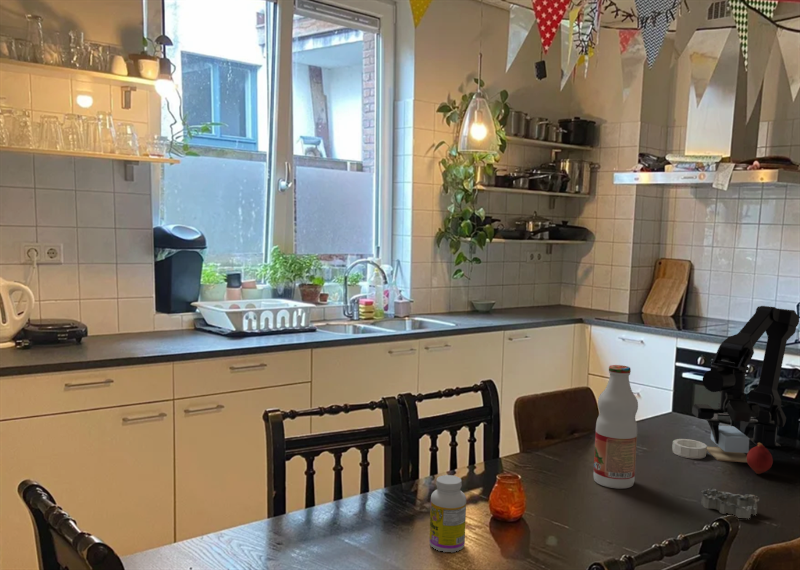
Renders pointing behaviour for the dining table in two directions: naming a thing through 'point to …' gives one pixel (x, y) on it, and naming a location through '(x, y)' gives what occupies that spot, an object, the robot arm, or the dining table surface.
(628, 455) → the fruit juice
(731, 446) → the light blue block
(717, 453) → the mat
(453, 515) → the supplement bottle
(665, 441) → the dining table surface
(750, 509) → the egg carton
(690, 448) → the bowl
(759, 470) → the onion
